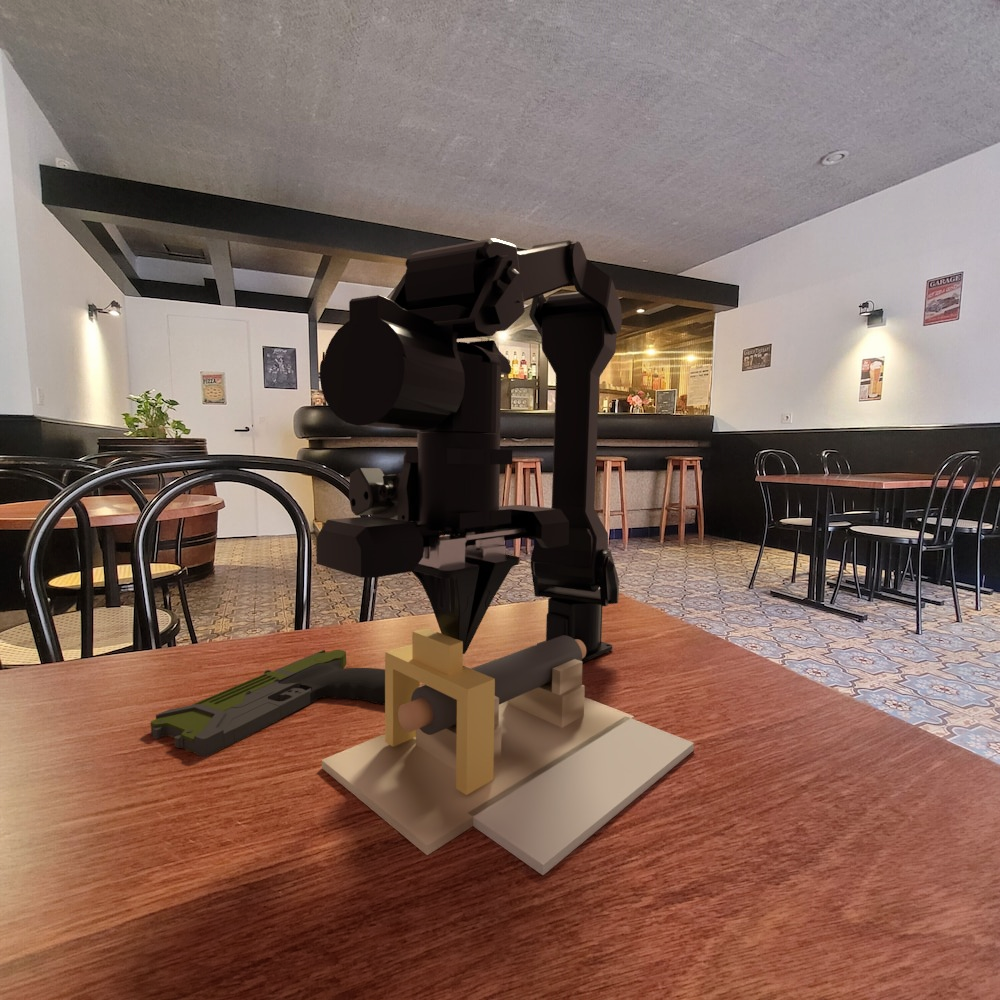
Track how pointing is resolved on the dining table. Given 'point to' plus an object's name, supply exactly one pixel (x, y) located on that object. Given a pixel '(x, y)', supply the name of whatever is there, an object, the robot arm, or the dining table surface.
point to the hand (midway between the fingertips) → (456, 653)
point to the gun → (267, 701)
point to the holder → (432, 759)
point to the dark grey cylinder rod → (511, 681)
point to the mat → (580, 792)
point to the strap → (443, 671)
